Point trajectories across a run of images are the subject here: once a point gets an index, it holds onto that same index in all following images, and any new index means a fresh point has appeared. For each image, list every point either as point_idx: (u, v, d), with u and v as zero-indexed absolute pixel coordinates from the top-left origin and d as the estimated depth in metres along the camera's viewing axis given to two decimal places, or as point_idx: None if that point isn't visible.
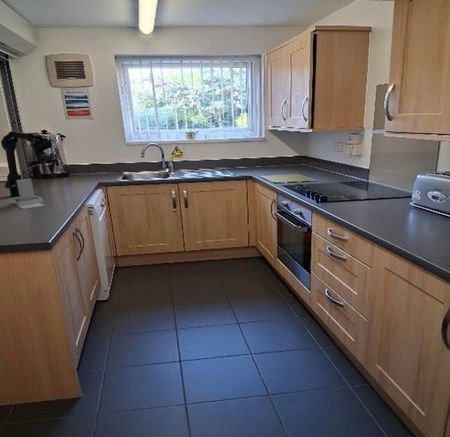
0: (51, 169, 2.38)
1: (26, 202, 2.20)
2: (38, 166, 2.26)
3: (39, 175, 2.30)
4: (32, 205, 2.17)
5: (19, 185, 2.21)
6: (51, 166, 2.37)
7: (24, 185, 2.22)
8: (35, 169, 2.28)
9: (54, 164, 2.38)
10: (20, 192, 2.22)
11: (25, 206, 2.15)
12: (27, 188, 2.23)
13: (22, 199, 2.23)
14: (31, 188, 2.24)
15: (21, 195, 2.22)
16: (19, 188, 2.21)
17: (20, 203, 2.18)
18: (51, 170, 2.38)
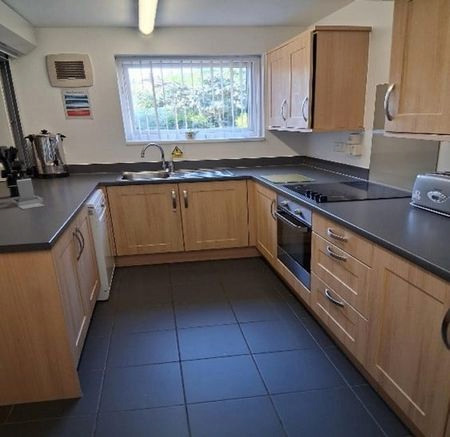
0: (20, 178, 2.32)
1: (26, 202, 2.20)
2: (15, 172, 2.30)
3: None
4: (32, 205, 2.17)
5: (19, 185, 2.21)
6: (19, 175, 2.33)
7: (24, 185, 2.22)
8: (15, 177, 2.32)
9: (21, 172, 2.33)
10: (20, 192, 2.22)
11: (25, 206, 2.15)
12: (27, 188, 2.23)
13: (22, 199, 2.23)
14: (31, 188, 2.24)
15: (21, 195, 2.22)
16: (19, 188, 2.21)
17: (20, 203, 2.18)
18: None
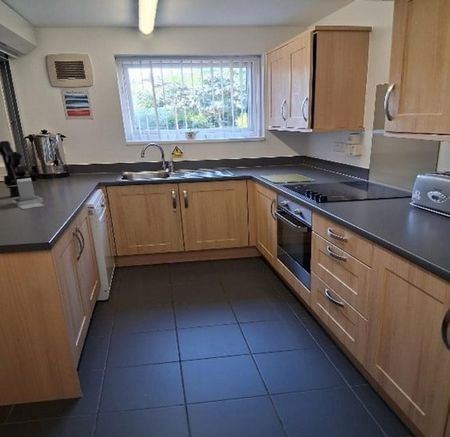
0: None
1: (26, 202, 2.20)
2: (19, 178, 2.26)
3: None
4: (32, 205, 2.17)
5: (19, 186, 2.19)
6: None
7: (24, 186, 2.20)
8: None
9: (25, 178, 2.28)
10: (20, 192, 2.21)
11: (25, 206, 2.15)
12: (27, 189, 2.22)
13: (22, 199, 2.23)
14: (31, 188, 2.23)
15: (21, 195, 2.22)
16: (20, 189, 2.20)
17: (20, 203, 2.18)
18: None
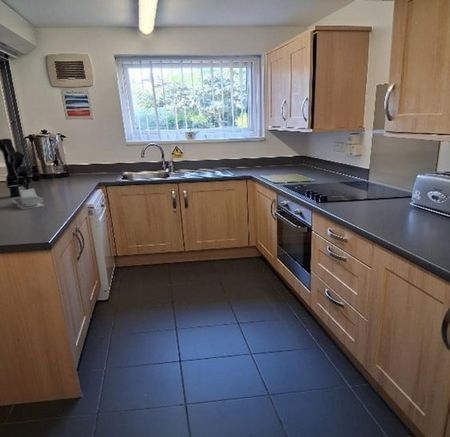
0: (26, 184, 2.24)
1: None
2: (21, 178, 2.22)
3: (26, 188, 2.23)
4: None
5: None
6: (26, 181, 2.24)
7: None
8: (22, 184, 2.24)
9: (28, 178, 2.24)
10: None
11: (25, 206, 2.15)
12: None
13: None
14: None
15: None
16: None
17: (20, 203, 2.18)
18: None
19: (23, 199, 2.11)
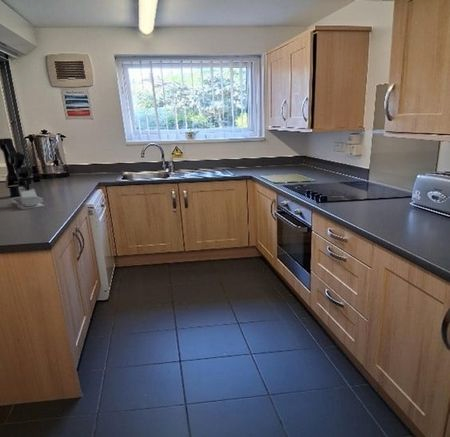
0: (27, 185, 2.22)
1: None
2: (22, 179, 2.20)
3: None
4: None
5: None
6: (26, 182, 2.23)
7: None
8: (22, 184, 2.22)
9: (28, 179, 2.23)
10: None
11: (25, 206, 2.15)
12: None
13: None
14: None
15: None
16: None
17: (20, 203, 2.18)
18: None
19: (23, 199, 2.11)
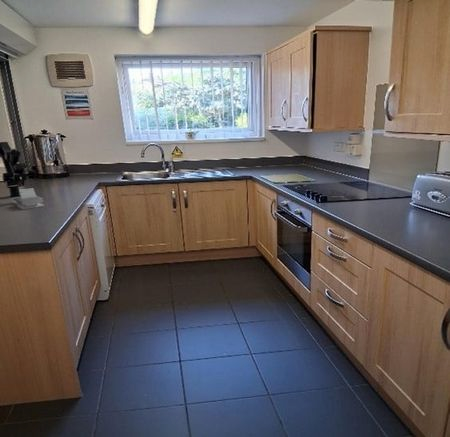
0: (22, 181, 2.29)
1: None
2: (17, 176, 2.27)
3: None
4: None
5: None
6: (22, 178, 2.30)
7: None
8: (18, 181, 2.29)
9: (24, 175, 2.30)
10: None
11: None
12: None
13: None
14: None
15: None
16: None
17: (20, 203, 2.18)
18: None
19: (23, 200, 2.11)
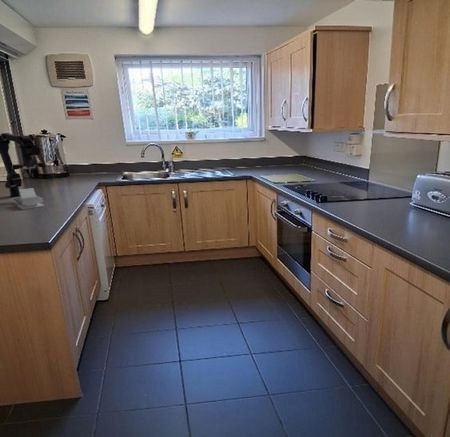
0: None
1: None
2: (26, 169, 2.35)
3: (29, 177, 2.39)
4: None
5: None
6: (30, 170, 2.38)
7: None
8: (26, 171, 2.38)
9: (32, 169, 2.37)
10: None
11: None
12: None
13: None
14: None
15: None
16: None
17: (20, 203, 2.18)
18: None
19: (23, 200, 2.11)
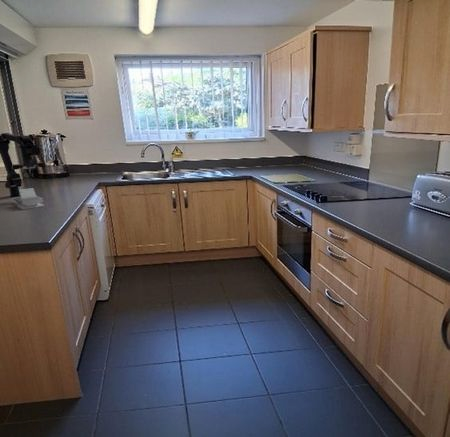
0: None
1: None
2: (26, 169, 2.35)
3: (29, 177, 2.39)
4: None
5: None
6: (30, 170, 2.38)
7: None
8: (26, 171, 2.38)
9: (33, 169, 2.37)
10: None
11: None
12: None
13: None
14: None
15: None
16: None
17: (20, 203, 2.18)
18: None
19: (23, 200, 2.11)
